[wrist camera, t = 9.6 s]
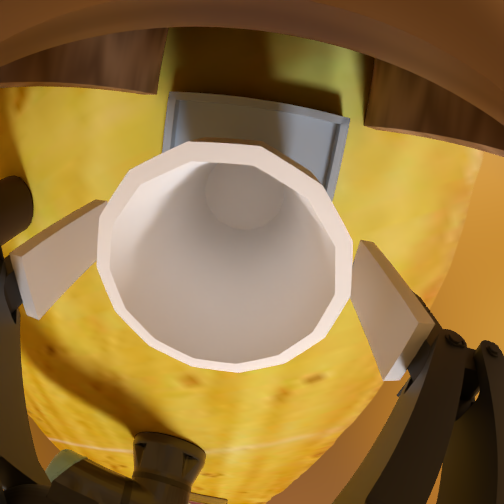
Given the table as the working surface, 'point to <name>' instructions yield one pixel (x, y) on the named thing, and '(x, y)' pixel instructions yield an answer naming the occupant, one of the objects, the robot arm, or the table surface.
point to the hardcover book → (205, 499)
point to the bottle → (14, 208)
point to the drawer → (261, 129)
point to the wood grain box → (290, 23)
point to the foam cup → (225, 255)
